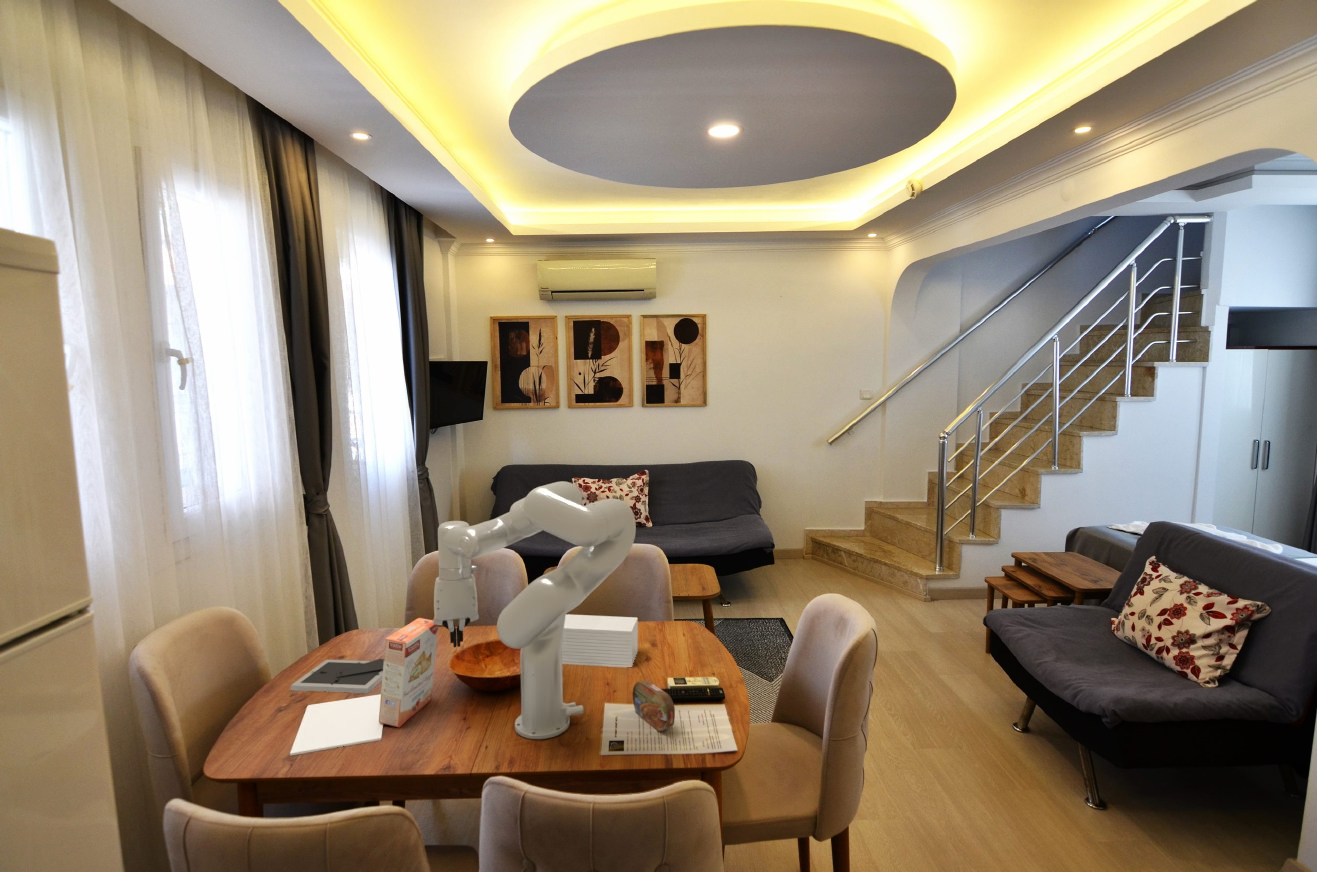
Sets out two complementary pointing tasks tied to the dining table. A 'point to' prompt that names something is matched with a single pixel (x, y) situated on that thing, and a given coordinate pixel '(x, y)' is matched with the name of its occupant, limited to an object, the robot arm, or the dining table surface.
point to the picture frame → (342, 676)
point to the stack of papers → (600, 640)
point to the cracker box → (407, 671)
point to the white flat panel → (339, 724)
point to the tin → (653, 705)
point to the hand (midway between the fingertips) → (456, 644)
